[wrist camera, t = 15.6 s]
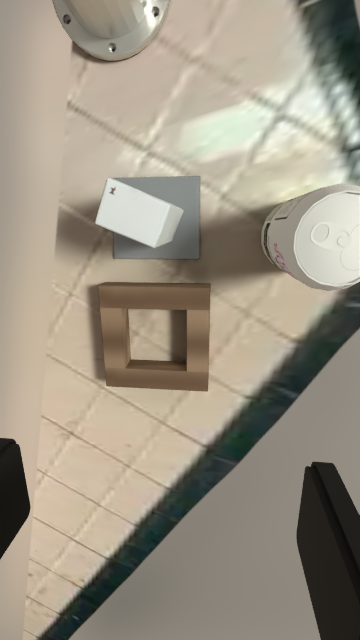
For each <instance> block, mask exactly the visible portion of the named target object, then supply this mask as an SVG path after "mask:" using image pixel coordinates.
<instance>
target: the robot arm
mask: <svg viewBox="0 0 360 640" xmlns="http://www.w3.org/2000/svg"><path fill="white" fill-rule="evenodd" d="M169 1H170V0H53V4H54V7H55V10H56V13H57V16H58V18H59V20H60V22H61V24H62V26H63V28H64V29H65V31H66V32H67V34H68V35H69V36H70V38H71V39H72V40H73V41H74V42H75V43H76V45H77V46H78V47H80V48H81V49H82V50H83V51H85V52H86V53H87V54H89V55H92V56H94V57H96V58H99V59H103V60H107V61H111V60H122V59H126V58H129V57H131V56H133V55H135V54H137V53H139V52H140V51H141V50H143V49H144V48H145V47H146V46H148V44H149V43H150V42H151V41H152V40H153V38H154V37H155V36H156V34H157V33H158V31H159V29H160V28H161V26H162V24H163V21H164V19H165V16H166V14H167V10H168V6H169ZM156 15H158V16H157V17H155V16H156ZM113 50H115V52H113ZM29 512H30V501H29V496H28V490H27V485H26V479H25V473H24V468H23V463H22V457H21V451H20V447H19V445H18V444H16V441H15V440H14V439H6V438H0V559H1V557H2V556H3V554H4V553H5V551H6V550H7V548H8V547H9V545H10V543H11V542H12V541H13V539H14V538H15V536H16V534H17V533H18V531H19V530H20V528H21V527H22V525H23V524H24V522H25V521H26V519H27V517H28V515H29ZM297 545H298V550H299V553H300V557H301V562H302V566H303V570H304V574H305V578H306V582H307V585H308V589H309V593H310V598H311V601H312V606H313V610H314V613H315V617H316V621H317V625H318V629H319V633H320V637H321V640H360V515H359V514H358V512H357V510H356V508H355V506H354V504H353V502H352V499H351V497H350V495H349V493H348V491H347V489H346V488H345V485H344V483H343V481H342V479H341V477H340V475H339V474H338V471H337V469H336V467H335V465H334V464H333V463H324V462H312V464H311V467H309V466H307V467H306V468H305V473H304V481H303V489H302V497H301V504H300V511H299V519H298V526H297Z"/></svg>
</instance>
